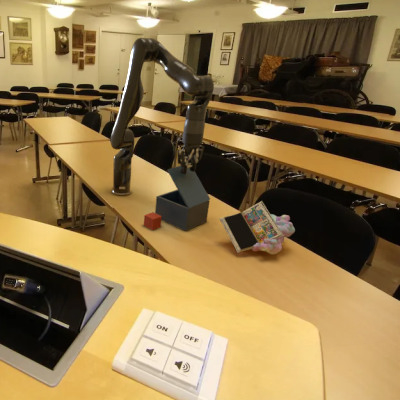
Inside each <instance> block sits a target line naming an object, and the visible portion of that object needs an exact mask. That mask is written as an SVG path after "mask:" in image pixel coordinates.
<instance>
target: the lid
mask: <svg viewBox="0 0 400 400" xmlns="http://www.w3.org/2000/svg"><path fill="white" fill-rule="evenodd" d="M190 168H193V163H191V162H188V164H187V173H186V174H182V173H181V165H178V166H175V167H171V168H168V169H167V170H166V171H167V173H168V174H169V176H170V178H171V180H172V182H173V183H174V185H175V187H176V190H177V189H178V191H179V193H180V195H181V197H182V198H183V200H184V202H185V204H186V206H187V208H190V207H192V206H195V205H198V204H200V203H203V202H205V201H208V200H209V201H210V200H211V197H210V196H209V194H208V192H207V191H206V189H205V187H204V186H203V184H202V182H201V180H200V178H199V177H198V175H197V173H196V170H195V171H194V172H193V171H190Z"/></svg>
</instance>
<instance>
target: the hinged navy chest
mask: <svg viewBox="0 0 400 400" xmlns="http://www.w3.org/2000/svg"><path fill="white" fill-rule="evenodd" d="M209 208H210V200H208V201H205V202H203V203H200V204H198V205H195V206H192V207H190V208H187V206H186V204H185V202H184V200H183V198H182V197H181V195H180V193H179V191H178V189H177V188H176V189H174V190H171V191H169V192H165V193H163V194H159V195H157V196H156V199H155V212H154V213H156V214H158V215H160V216H162V218H161V221H163V222H165V223H167V224H170V225H171V226H174V227H176V228H178V229H181V230H183V231H185V232H186V231H189V230H191V229H193V228H196V227H198V226H201V225H203V224H205V223H207V221H208V214H209Z"/></svg>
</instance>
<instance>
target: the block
mask: <svg viewBox="0 0 400 400" xmlns="http://www.w3.org/2000/svg"><path fill="white" fill-rule="evenodd" d="M161 218H162V216H160V215H158V214H156V213H155V212H153V211H152V212H149V213H147V214H144V216H143V227H145V228H147V229H148V230H151V231H154V230H157V229H159V228H161V227H162V220H161Z"/></svg>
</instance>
